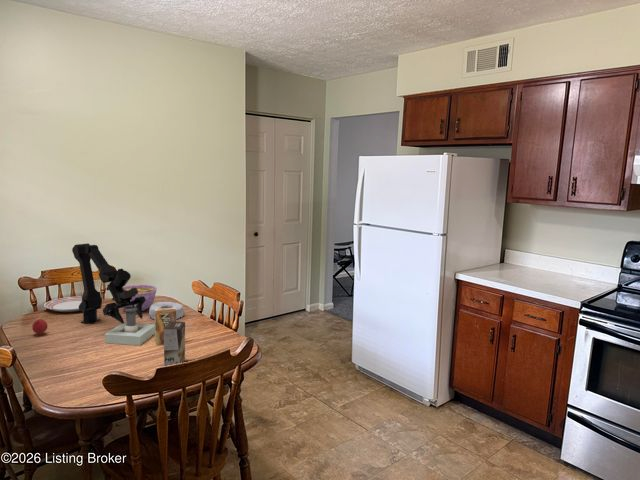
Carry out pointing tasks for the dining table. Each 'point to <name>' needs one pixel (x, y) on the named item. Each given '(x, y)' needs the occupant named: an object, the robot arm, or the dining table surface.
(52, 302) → the dinner plate
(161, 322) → the candy box
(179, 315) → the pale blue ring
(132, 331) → the pepper grinder
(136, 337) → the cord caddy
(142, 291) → the bowl of food
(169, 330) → the coffee box
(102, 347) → the dining table surface
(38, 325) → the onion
